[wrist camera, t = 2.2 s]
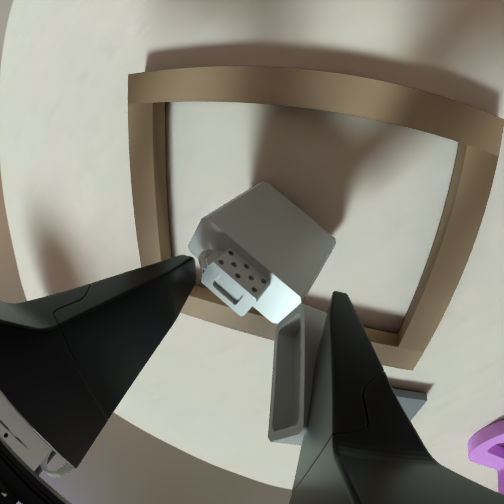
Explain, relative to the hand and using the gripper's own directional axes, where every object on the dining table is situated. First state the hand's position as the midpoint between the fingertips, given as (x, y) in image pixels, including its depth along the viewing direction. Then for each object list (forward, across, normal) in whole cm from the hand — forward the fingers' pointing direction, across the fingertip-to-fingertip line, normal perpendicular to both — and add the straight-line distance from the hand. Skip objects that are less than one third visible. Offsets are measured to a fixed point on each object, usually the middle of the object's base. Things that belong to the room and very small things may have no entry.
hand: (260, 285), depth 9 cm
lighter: (+5, -1, +1) cm, 5 cm away
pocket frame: (+5, 0, 0) cm, 5 cm away
